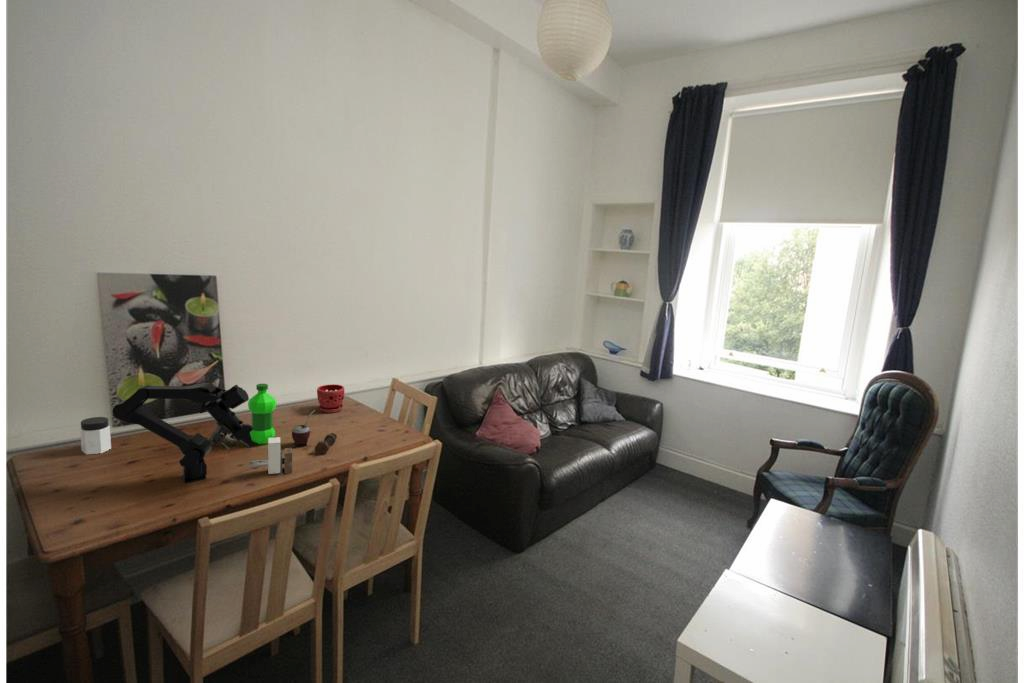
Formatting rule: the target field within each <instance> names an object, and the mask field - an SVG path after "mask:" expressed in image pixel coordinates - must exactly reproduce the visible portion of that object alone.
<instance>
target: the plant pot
mask: <svg viewBox="0 0 1024 683" xmlns="http://www.w3.org/2000/svg"><path fill="white" fill-rule="evenodd" d="M316 393H317V395H316V396H317V401H318V403H319V407H318V408H319V410H320V411H321V412H324V413H337V412H340V411H342V409H343V408H344V405H343V402H344V398H345V387H344V386H343V385H341V384H325V385H320V386H318V387H317V389H316Z"/></svg>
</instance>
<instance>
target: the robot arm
mask: <svg viewBox="0 0 1024 683" xmlns="http://www.w3.org/2000/svg"><path fill="white" fill-rule="evenodd" d="M148 400H186V401H189V402H191V403H196V404H201V405H199V406H200V407H199V408H200V410H199V414H203V413H205V412H207V413H208V414H209V415H210V416H211V417H212V418H213V419H214V420H215V424H216V425H217V426H216V428H215V429H214V431H212V433H211V434H210V436H209V437H207V436H206V437H205V436H203V435H202V434H201V433H200V432H196V433H195V434H194V435H192V434H188V433H186V432H184V431H182V430H181V429H179V428H177V427H175V426H174V425H171V424H170V423H168V422H166V421H164V420H163V419H161V418H159V417H158V416H156V415H154V414H153V413H151V412H150V411H149V409H148V408H147V406H146V405H145V404H144V403H146V402H147V401H148ZM249 400H250V399H249V394H248V393H247V391H246V390H245V389H244V388H242V387H240V386H239V385H238V384H235V385H233V386H232V387H230V388H229V389H227V390H226V389H223V388H220V387H218V386H215V384H214V383H211V382H201V383H195V384H192V385H150V384H149V385H148V384H146V385H143V386H142V387H140V388H138V389H137V390H135V392H134V393H133V394H132V395H131V396H129V397H128V398H127V399H125V400H123V401H121V402H119V403H118V404H116V405H115V406H114V407H113V408H112V417H113V418H115V419H116V420H118V421H121V422H123V423H125V424H126V423H127V424H132V425H139V426H140V427H142V428H144V429H146V430H147V431H149V432H152V433H153V434H155V435H157V436H159V438H163V439H164V440H165V441H168V442H169V443H170V444H172V445H174V446H175V447H177V448H179V451H180V452H181V453H182V454H183V455H184V456H182V458H181V459H179V460H178V462H179V464H180V466H181V467H182V479H183V481H184V483H185V484H187V483H191V482H198V481H201V480H206V479H207V475H208V471H207V470H208V469H207V467H208V466H207V462H206V461H205V457H207V455H208V454H209V453H210V452H211V451H212V448H213V446H212V444H215V445H218V446H221V445H222V443H223V440H224V439H225V438H226V436H227V435H229V438H230V439H232V440H235V441H237V442H239V441H240V442H241V443H243V444H244V445H246V446H247V447H249V448H252V447H254V444H253V443H254V442H253V441H252V439H251V435H250V432H251V431H252V430H253V427H252V424H249V423H244V421H243V420H241V419H239V417H238V416H237V415H236V412H234V411H232V410H234V409H236V408H238V407H239V406H241V405H243V404H245V403H247V402H249ZM231 409H232V410H231Z"/></svg>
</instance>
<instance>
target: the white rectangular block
mask: <svg viewBox="0 0 1024 683" xmlns="http://www.w3.org/2000/svg"><path fill="white" fill-rule="evenodd" d="M267 446H268V452H267V453H268V454H267V455H268V458H267V460H268V466H267V467H268V468H267V469H268V475H274V474H277V473H280V471H282V469H283V464H282V458H283V452H282V451H281V437H280V436H279V437H278V436H277V437H275V436H274V437H273V438H268V443H267Z"/></svg>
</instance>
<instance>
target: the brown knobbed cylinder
mask: <svg viewBox="0 0 1024 683" xmlns="http://www.w3.org/2000/svg"><path fill="white" fill-rule="evenodd" d="M337 439H338V438H337V434H336V433H334V432H332V433H328V434H326V436H325V437H324V439H323V440H321V441H320V440H319V441H318V442H317V443H316V445H315V446H314V450H315V451H316V453H317V454H319V455H326V454H327V453H328V451H329V450H330V449H331V447H330V446H333V445H334V444H335V443H336V441H337Z"/></svg>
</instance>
